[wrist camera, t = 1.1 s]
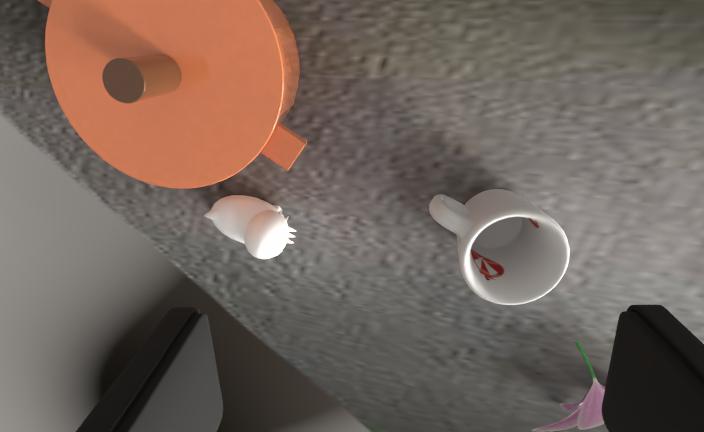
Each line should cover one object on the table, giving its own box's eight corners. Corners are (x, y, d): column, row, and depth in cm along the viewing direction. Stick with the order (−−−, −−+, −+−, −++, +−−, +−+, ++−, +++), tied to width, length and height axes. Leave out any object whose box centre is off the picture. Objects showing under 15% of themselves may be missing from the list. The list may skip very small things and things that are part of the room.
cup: (403, 221, 42) (407, 261, 35) (450, 146, 40) (465, 172, 32) (503, 273, 44) (528, 322, 36) (555, 203, 41) (594, 241, 33)
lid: (114, -122, 27) (41, -163, 21) (332, 43, 30) (320, 45, 24) (23, 99, 32) (-55, 113, 27) (216, 223, 35) (183, 260, 29)
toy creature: (295, 246, 44) (281, 279, 38) (213, 223, 44) (187, 252, 38) (306, 203, 42) (294, 230, 37) (221, 178, 42) (195, 202, 36)
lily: (497, 380, 49) (539, 479, 43) (549, 322, 41) (610, 434, 35) (592, 368, 53) (643, 459, 46) (657, 311, 44) (731, 412, 38)
